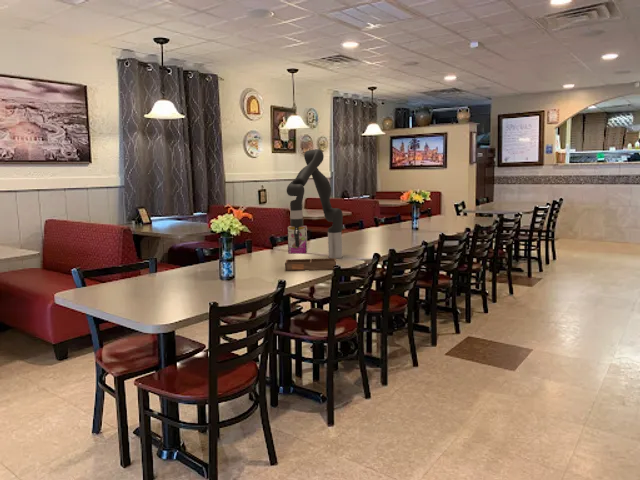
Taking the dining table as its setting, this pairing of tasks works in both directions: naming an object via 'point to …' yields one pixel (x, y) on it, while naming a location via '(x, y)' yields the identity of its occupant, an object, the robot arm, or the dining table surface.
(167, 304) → the dining table surface
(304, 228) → the candy bar box
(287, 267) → the organiser rack
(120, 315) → the dining table surface
